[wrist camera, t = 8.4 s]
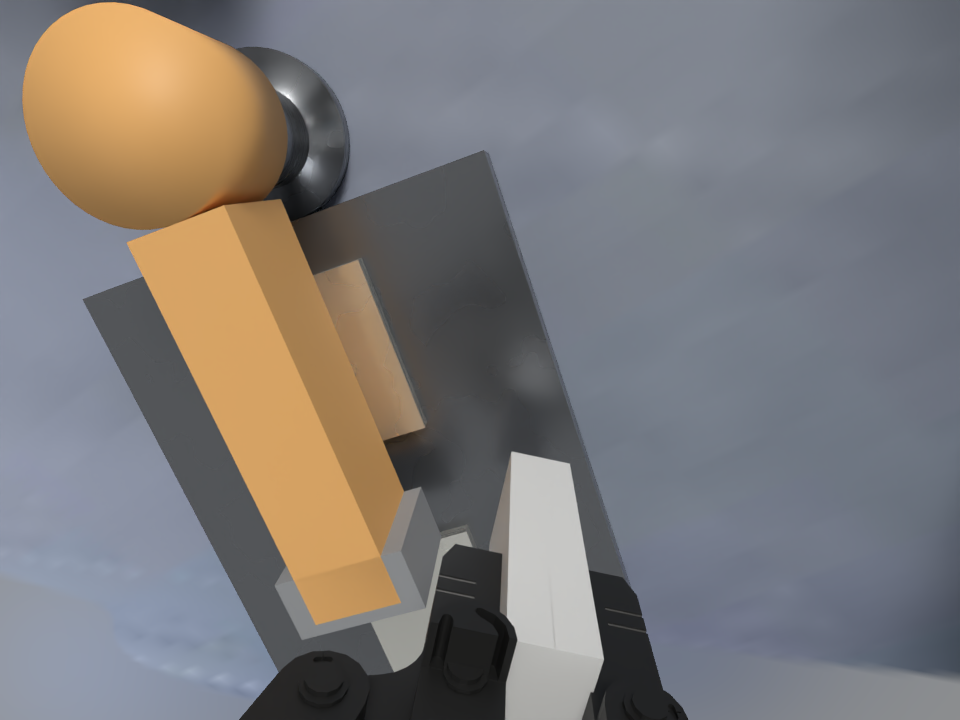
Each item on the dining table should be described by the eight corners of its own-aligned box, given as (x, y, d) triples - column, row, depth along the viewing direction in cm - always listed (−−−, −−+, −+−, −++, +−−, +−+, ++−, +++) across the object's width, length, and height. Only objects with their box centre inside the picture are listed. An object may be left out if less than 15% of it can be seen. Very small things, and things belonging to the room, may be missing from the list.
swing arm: (89, 75, 14) (-18, 51, 11) (243, 9, 14) (170, -35, 11) (324, 568, 18) (286, 644, 15) (454, 532, 17) (441, 604, 14)
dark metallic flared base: (162, 87, 18) (78, 67, 15) (310, 24, 17) (258, -13, 14) (232, 244, 19) (170, 259, 16) (374, 191, 19) (341, 196, 15)
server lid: (134, 284, 20) (73, 302, 17) (488, 153, 18) (483, 149, 15) (324, 664, 24) (299, 728, 21) (631, 587, 22) (647, 647, 19)
